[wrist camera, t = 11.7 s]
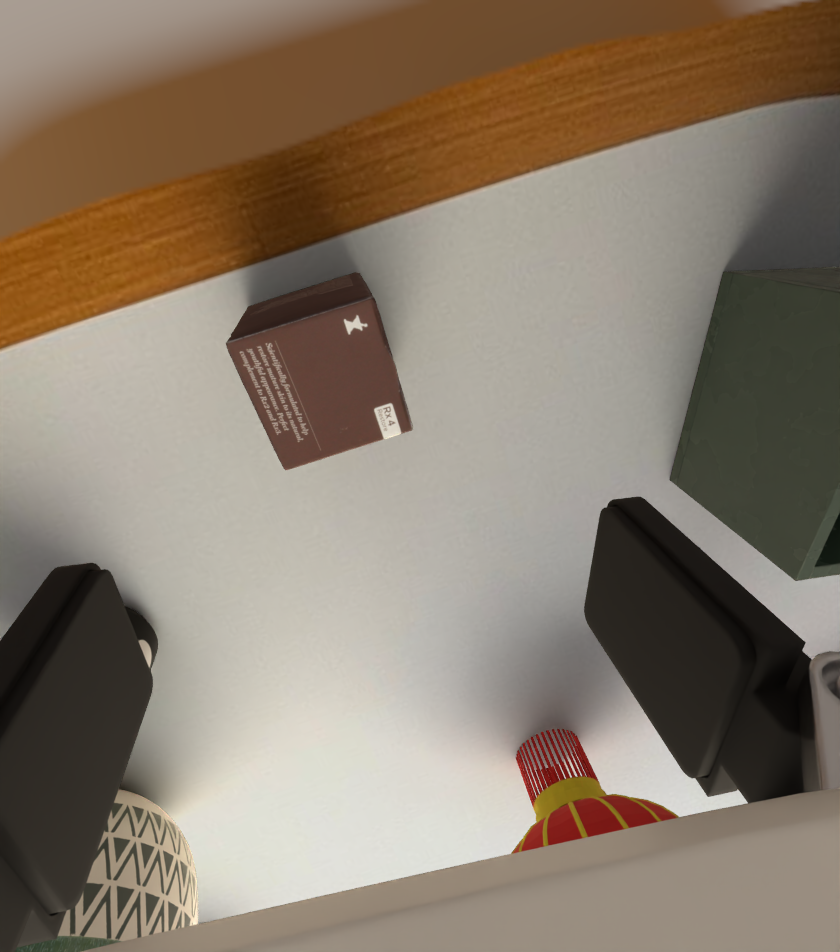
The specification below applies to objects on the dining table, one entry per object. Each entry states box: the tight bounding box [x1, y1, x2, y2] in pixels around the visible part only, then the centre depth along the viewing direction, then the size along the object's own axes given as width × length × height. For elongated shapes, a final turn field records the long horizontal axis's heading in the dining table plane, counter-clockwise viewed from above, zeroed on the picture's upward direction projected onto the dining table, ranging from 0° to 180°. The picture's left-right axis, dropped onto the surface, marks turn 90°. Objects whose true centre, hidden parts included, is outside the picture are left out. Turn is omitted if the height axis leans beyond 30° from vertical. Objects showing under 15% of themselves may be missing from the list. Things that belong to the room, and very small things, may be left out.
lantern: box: [511, 729, 679, 854], centre depth 35 cm, size 17×17×30 cm
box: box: [226, 273, 413, 470], centre depth 23 cm, size 6×6×7 cm
